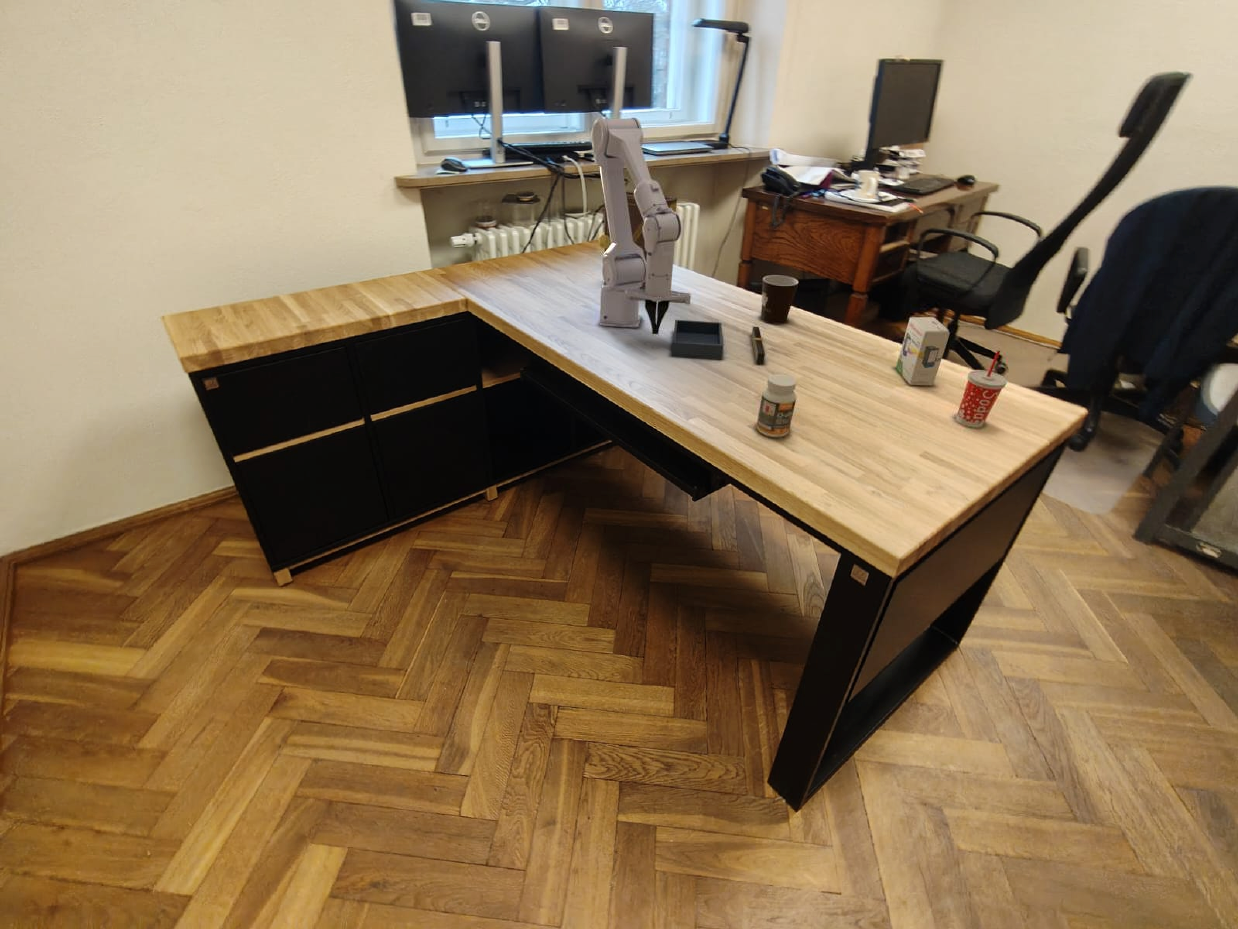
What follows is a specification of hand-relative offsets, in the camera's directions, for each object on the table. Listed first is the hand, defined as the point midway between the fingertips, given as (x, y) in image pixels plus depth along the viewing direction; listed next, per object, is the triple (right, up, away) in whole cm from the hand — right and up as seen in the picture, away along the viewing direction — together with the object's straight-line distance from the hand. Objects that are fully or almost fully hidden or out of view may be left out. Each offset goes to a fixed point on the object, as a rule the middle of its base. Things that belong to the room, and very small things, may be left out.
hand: (655, 332), depth 134 cm
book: (-4, +20, +33) cm, 39 cm away
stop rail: (+23, -4, -1) cm, 24 cm away
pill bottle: (+19, -24, -30) cm, 43 cm away
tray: (+10, -3, +1) cm, 10 cm away
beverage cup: (+57, -22, -26) cm, 66 cm away
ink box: (+54, -12, -10) cm, 56 cm away
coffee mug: (+32, +8, +17) cm, 37 cm away
